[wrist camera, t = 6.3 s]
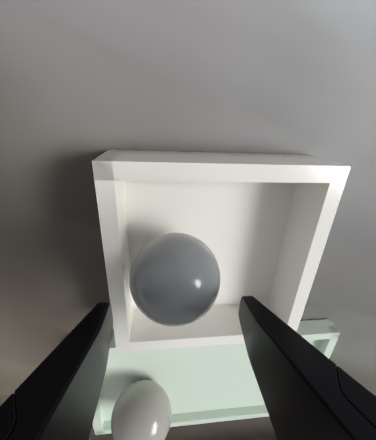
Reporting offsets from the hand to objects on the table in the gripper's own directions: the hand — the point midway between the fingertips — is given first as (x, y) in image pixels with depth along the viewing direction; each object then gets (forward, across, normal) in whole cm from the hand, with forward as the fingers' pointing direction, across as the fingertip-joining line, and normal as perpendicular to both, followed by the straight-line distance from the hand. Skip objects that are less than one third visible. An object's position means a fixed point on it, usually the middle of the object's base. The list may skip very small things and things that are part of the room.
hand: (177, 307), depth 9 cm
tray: (+5, -3, +12) cm, 13 cm away
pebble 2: (+4, 0, 0) cm, 4 cm away
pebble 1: (+4, +2, +12) cm, 13 cm away
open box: (+5, -2, 0) cm, 5 cm away
